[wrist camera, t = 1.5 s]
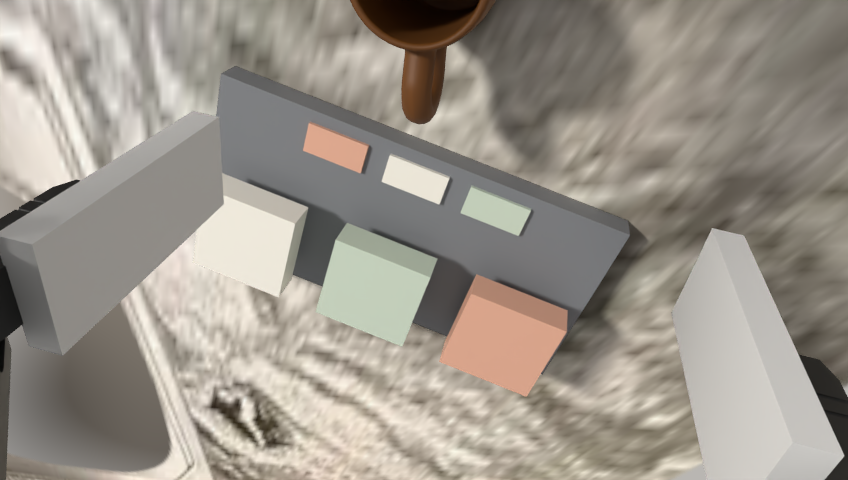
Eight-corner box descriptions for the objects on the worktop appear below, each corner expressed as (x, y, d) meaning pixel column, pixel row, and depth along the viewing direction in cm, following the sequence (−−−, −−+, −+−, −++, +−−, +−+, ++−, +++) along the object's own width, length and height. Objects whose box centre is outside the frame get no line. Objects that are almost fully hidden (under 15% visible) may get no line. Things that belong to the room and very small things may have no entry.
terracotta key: (445, 340, 46) (439, 361, 44) (476, 274, 42) (471, 293, 40) (528, 374, 46) (526, 396, 44) (567, 310, 42) (566, 331, 40)
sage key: (326, 293, 47) (315, 312, 45) (347, 222, 43) (335, 239, 41) (409, 326, 46) (402, 346, 44) (437, 258, 43) (430, 277, 41)
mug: (500, 92, 39) (481, 146, 31) (389, 80, 40) (343, 129, 33) (524, -121, 33) (506, -119, 25) (391, -127, 34) (335, -128, 26)
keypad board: (214, 226, 50) (200, 240, 48) (235, 66, 42) (218, 74, 40) (543, 357, 50) (542, 376, 48) (628, 220, 42) (630, 237, 40)
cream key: (209, 246, 47) (192, 262, 45) (218, 171, 43) (201, 186, 41) (291, 279, 47) (278, 297, 45) (308, 207, 43) (295, 223, 41)
